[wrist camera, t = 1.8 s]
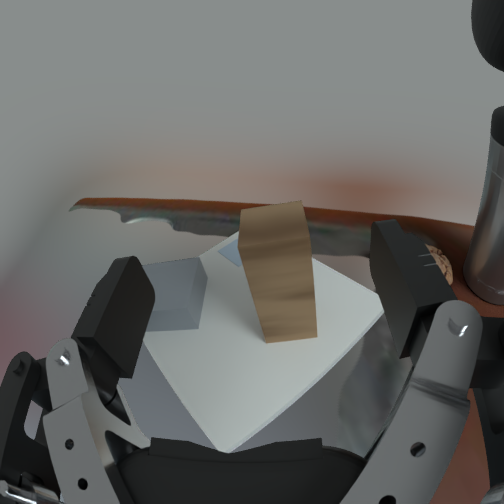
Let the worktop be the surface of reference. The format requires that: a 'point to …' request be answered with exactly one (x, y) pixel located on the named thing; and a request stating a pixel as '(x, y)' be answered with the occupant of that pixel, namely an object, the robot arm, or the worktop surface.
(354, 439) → the worktop surface
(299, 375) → the base board
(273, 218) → the walnut pillar
